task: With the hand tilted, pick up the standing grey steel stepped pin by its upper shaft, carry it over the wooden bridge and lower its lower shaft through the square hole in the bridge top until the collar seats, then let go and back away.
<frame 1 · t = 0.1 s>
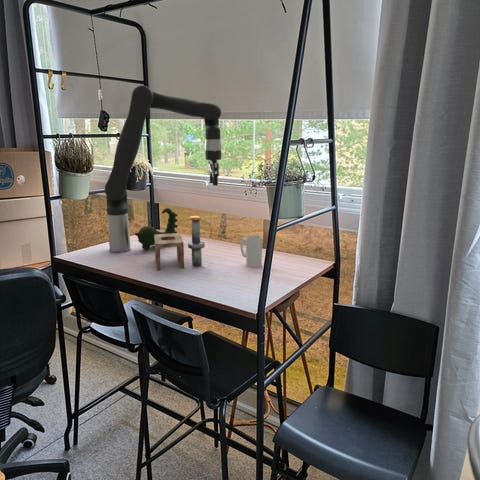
hand: (213, 184, 203), 29 cm above the table, tool pointing down, fingers open, 8 cm apart
mug: (250, 264, 178), on the table
toy figurine: (157, 247, 205), on the table
pin: (196, 265, 177), on the table
bridge: (169, 263, 180), on the table
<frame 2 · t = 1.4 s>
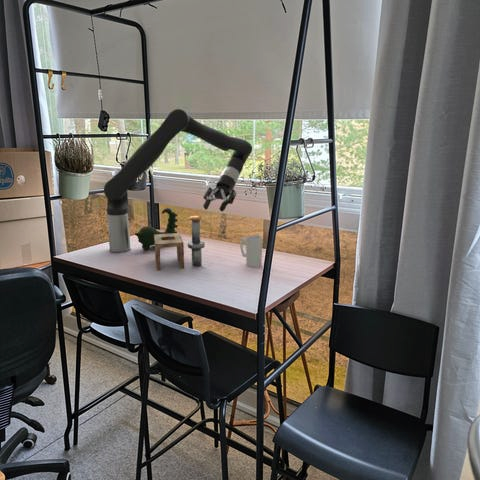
hand: (212, 209, 181), 22 cm above the table, tool tilted 45°, fingers open, 8 cm apart
nothing on the table moved.
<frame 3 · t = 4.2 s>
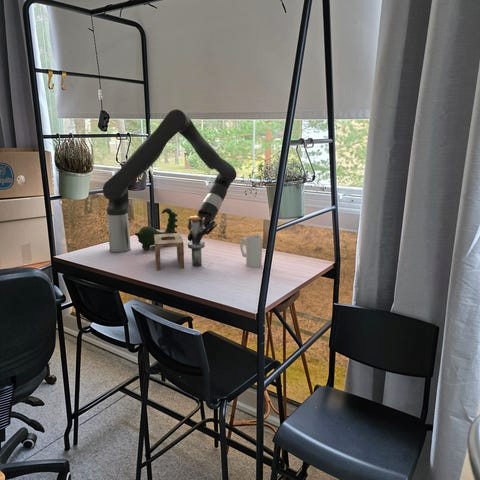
hand: (193, 240, 173), 11 cm above the table, tool tilted 45°, fingers closed on pin, 3 cm apart
pin: (197, 265, 177), on the table, touching gripper
everything else where it was.
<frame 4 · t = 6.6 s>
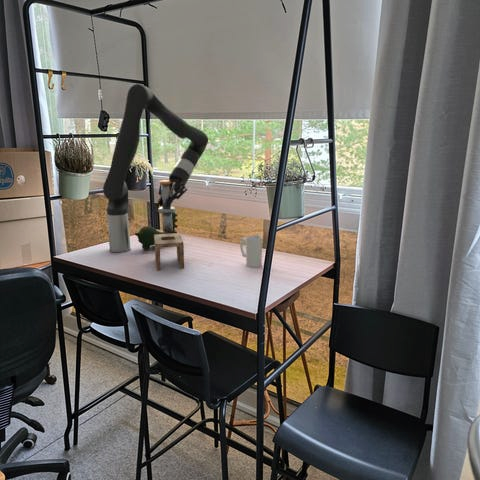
hand: (163, 205, 172), 25 cm above the table, tool tilted 45°, fingers closed on pin, 3 cm apart
pin: (167, 230, 176), point 14 cm above the table, touching gripper
everything else where it was.
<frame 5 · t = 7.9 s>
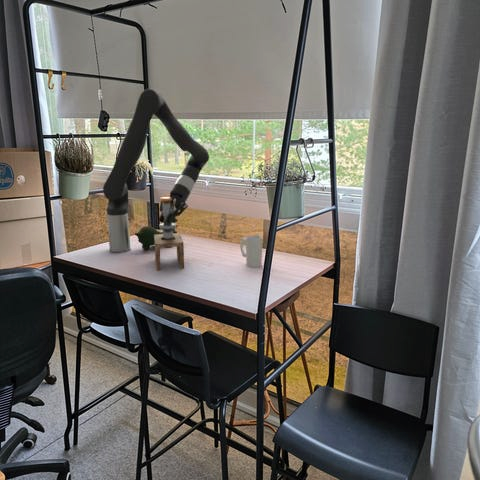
hand: (164, 221, 173), 18 cm above the table, tool tilted 45°, fingers closed on pin, 3 cm apart
pin: (168, 246, 178), point 7 cm above the table, touching gripper
everything else where it was.
when the fingers open (15 cm above the table, at t = 9.0 s): pin drops 1 cm, resting on bridge.
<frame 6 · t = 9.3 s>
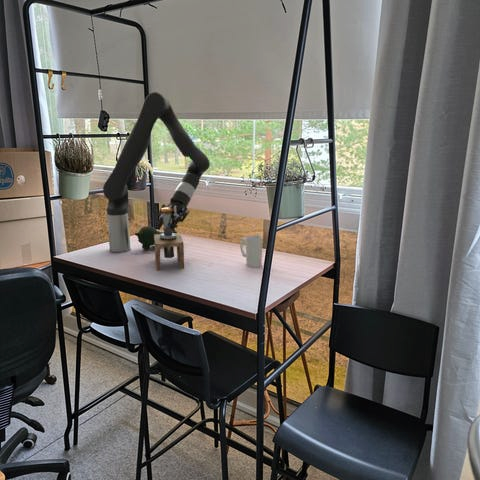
hand: (164, 227, 174), 16 cm above the table, tool tilted 45°, fingers open, 6 cm apart
pin: (169, 256, 179), point 3 cm above the table, touching bridge
everything else where it was.
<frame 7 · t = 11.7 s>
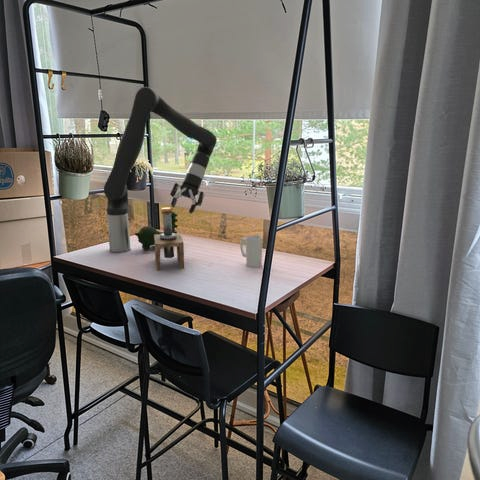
hand: (181, 210, 186), 21 cm above the table, tool tilted 30°, fingers open, 8 cm apart
nothing on the table moved.
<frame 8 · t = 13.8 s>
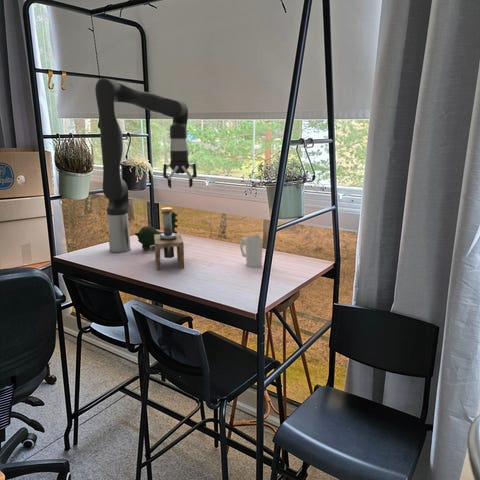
hand: (180, 187, 186), 30 cm above the table, tool pointing down, fingers open, 8 cm apart
nothing on the table moved.
at the end: pin 0.1 cm off-centre on the bridge, point 3.0 cm above the bridge's base; pin tilted 0°; the gripper is holding nothing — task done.
